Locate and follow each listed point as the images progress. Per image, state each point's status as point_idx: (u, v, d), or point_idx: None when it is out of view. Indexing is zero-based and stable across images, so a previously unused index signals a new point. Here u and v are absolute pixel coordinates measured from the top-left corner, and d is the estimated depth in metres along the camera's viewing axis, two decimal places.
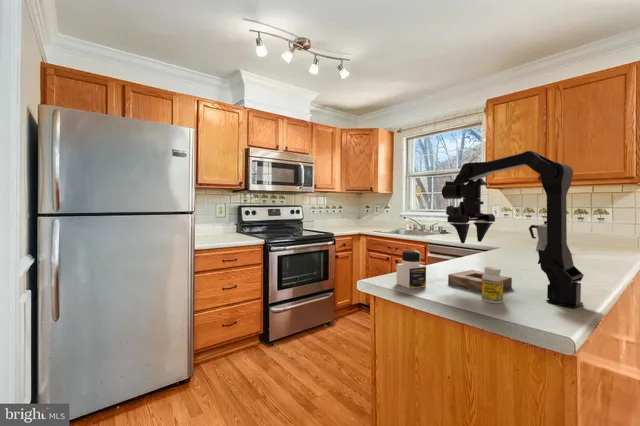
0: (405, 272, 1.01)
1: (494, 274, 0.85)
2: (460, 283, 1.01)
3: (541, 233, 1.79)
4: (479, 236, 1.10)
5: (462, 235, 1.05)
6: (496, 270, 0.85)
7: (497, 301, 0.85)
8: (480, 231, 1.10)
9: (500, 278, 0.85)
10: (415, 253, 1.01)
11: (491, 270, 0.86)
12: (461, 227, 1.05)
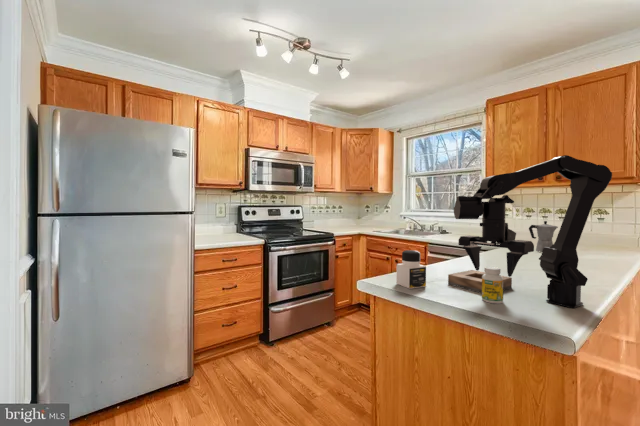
0: (405, 272, 1.01)
1: (494, 274, 0.85)
2: (460, 283, 1.01)
3: (541, 233, 1.79)
4: None
5: None
6: (496, 270, 0.85)
7: (497, 301, 0.85)
8: None
9: (500, 278, 0.85)
10: (415, 253, 1.01)
11: (491, 270, 0.86)
12: None
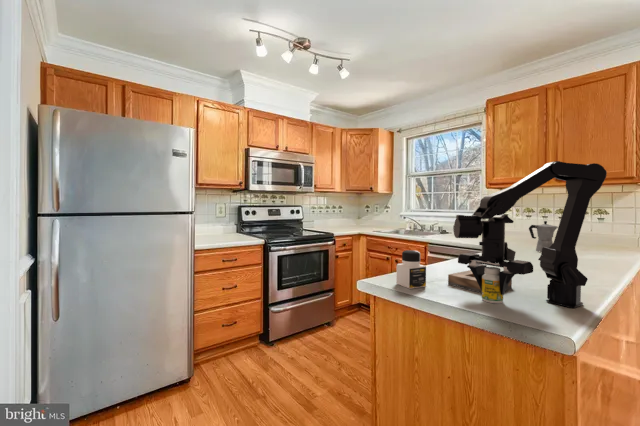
0: (405, 272, 1.01)
1: (494, 274, 0.85)
2: (460, 283, 1.01)
3: (541, 233, 1.79)
4: None
5: None
6: (496, 270, 0.85)
7: (497, 301, 0.85)
8: None
9: None
10: (415, 253, 1.01)
11: (491, 270, 0.86)
12: None
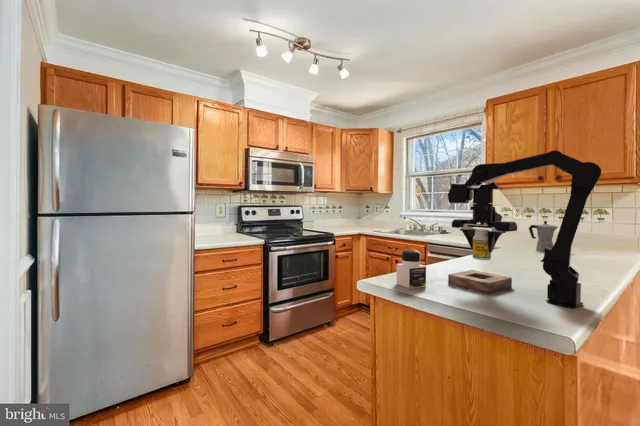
0: (405, 272, 1.01)
1: (483, 234, 0.97)
2: (460, 283, 1.01)
3: (541, 233, 1.79)
4: None
5: None
6: (485, 231, 0.97)
7: (486, 258, 0.96)
8: None
9: None
10: (415, 253, 1.01)
11: (481, 231, 0.97)
12: None
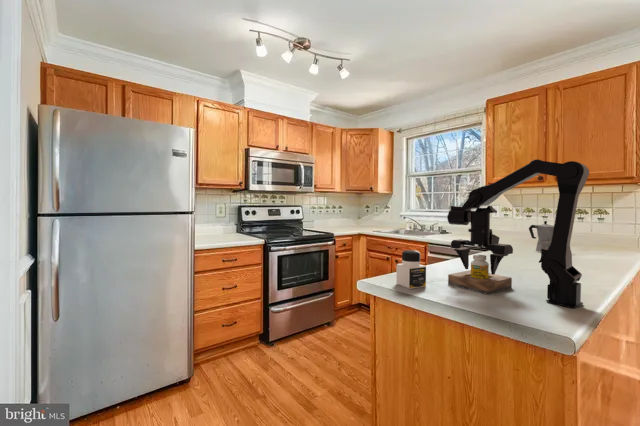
0: (405, 272, 1.01)
1: (481, 260, 1.01)
2: (460, 283, 1.01)
3: (541, 233, 1.79)
4: None
5: None
6: (483, 256, 1.01)
7: None
8: None
9: (486, 263, 1.01)
10: (415, 253, 1.01)
11: (478, 257, 1.01)
12: None
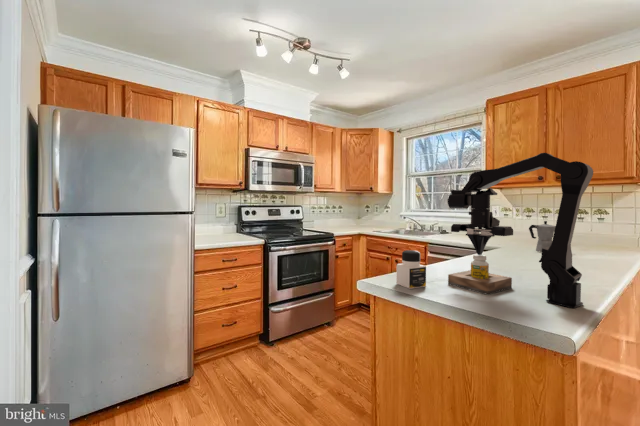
0: (405, 272, 1.01)
1: (481, 260, 1.01)
2: (460, 283, 1.01)
3: (541, 233, 1.79)
4: None
5: None
6: (483, 257, 1.01)
7: None
8: None
9: (486, 263, 1.01)
10: (415, 253, 1.01)
11: (478, 257, 1.01)
12: None
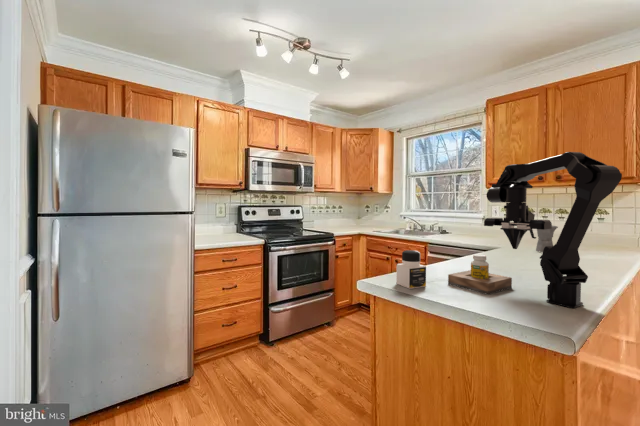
0: (405, 272, 1.01)
1: (481, 260, 1.01)
2: (460, 283, 1.01)
3: (541, 233, 1.79)
4: None
5: None
6: (483, 257, 1.01)
7: None
8: None
9: (486, 263, 1.01)
10: (415, 253, 1.01)
11: (478, 257, 1.01)
12: None
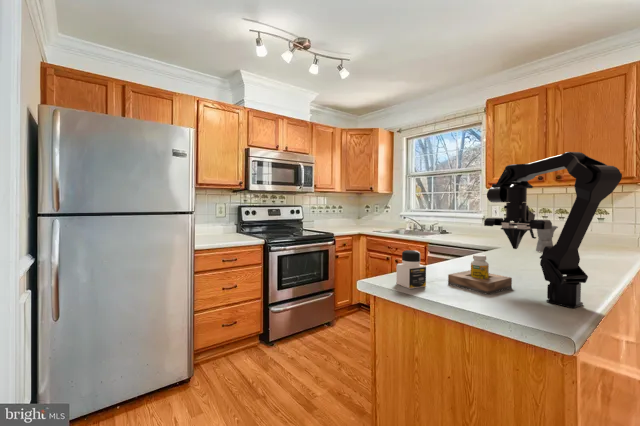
0: (405, 272, 1.01)
1: (481, 260, 1.01)
2: (460, 283, 1.01)
3: (541, 233, 1.79)
4: None
5: None
6: (483, 256, 1.01)
7: None
8: None
9: (486, 263, 1.01)
10: (415, 253, 1.01)
11: (478, 257, 1.01)
12: None
